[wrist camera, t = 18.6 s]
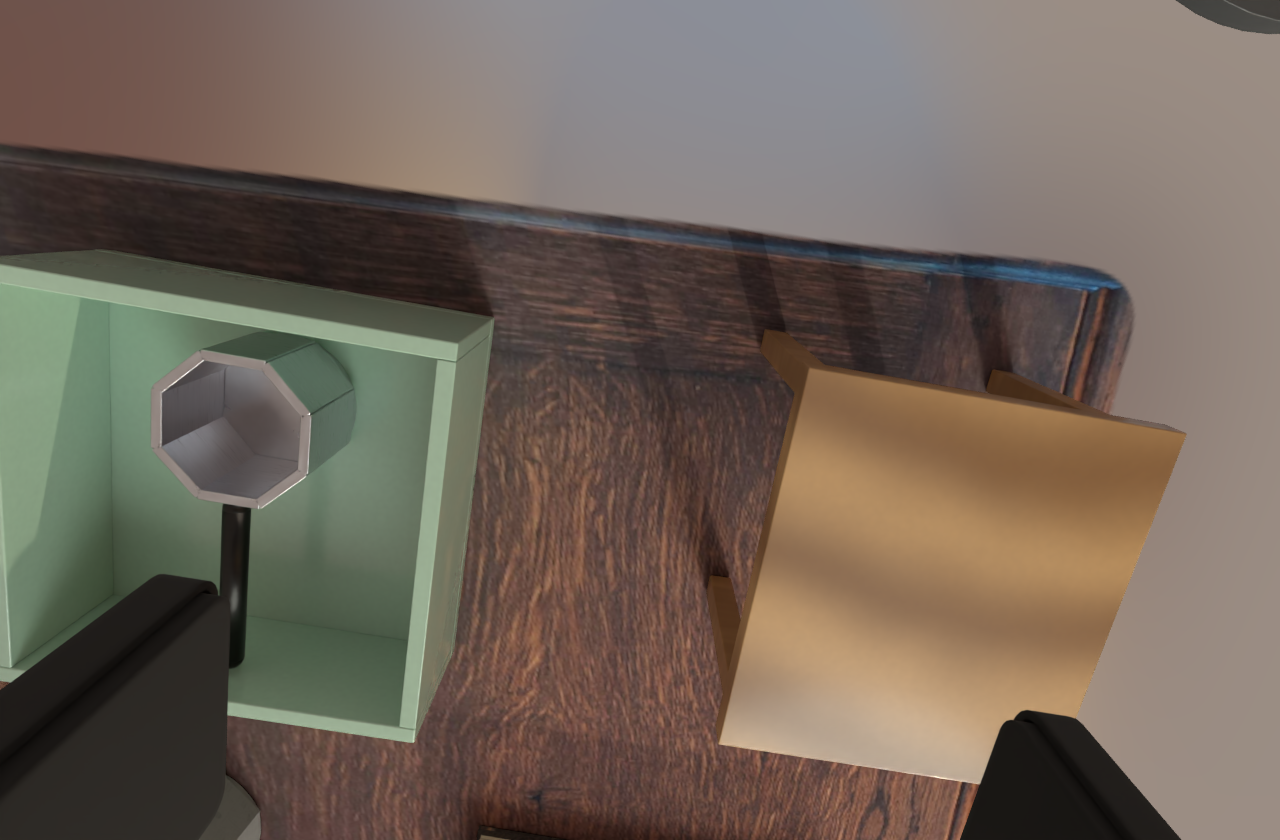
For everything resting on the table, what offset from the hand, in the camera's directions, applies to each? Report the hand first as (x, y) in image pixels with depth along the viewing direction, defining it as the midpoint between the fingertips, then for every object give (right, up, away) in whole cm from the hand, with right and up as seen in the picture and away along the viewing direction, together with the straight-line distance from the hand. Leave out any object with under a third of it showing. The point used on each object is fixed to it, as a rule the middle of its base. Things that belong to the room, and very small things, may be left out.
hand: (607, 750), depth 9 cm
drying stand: (+12, 0, +31) cm, 34 cm away
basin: (-18, +2, +31) cm, 36 cm away
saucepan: (-18, +1, +31) cm, 36 cm away
